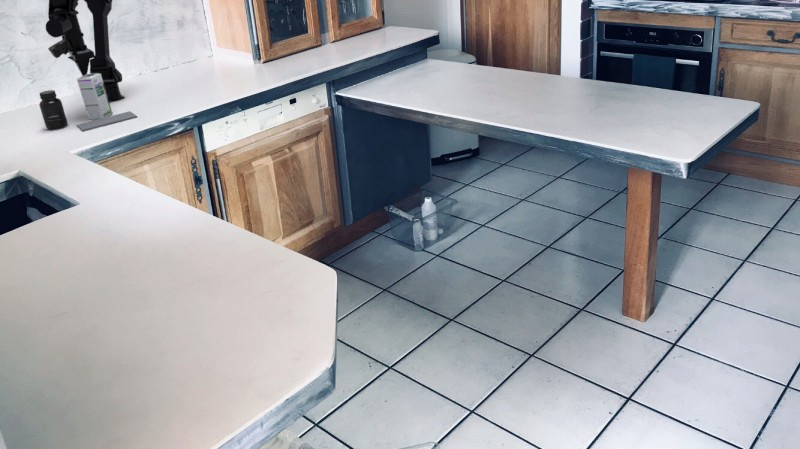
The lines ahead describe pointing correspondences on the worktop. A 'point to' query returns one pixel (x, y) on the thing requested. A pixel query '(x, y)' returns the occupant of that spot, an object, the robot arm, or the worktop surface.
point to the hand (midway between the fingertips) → (84, 76)
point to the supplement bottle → (52, 111)
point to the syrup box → (94, 96)
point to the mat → (106, 121)
